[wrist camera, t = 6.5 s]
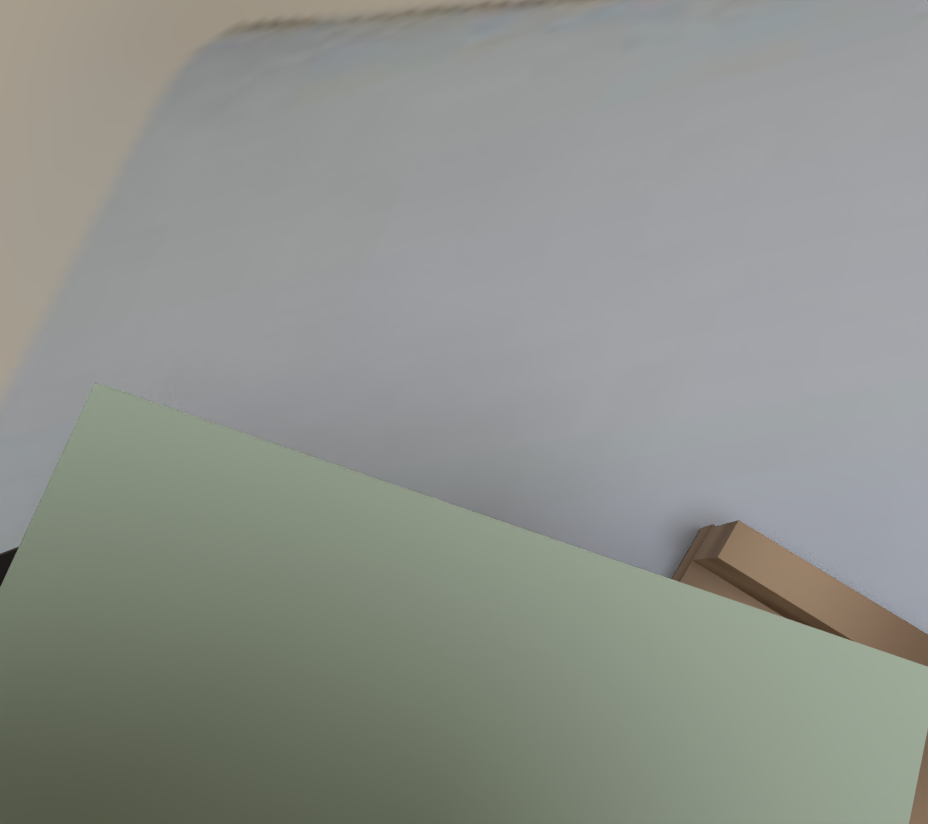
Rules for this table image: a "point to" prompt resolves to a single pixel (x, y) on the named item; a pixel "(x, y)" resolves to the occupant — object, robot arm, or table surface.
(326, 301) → the table surface
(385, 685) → the pale green rectangular block
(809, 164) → the table surface
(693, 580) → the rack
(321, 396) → the table surface
